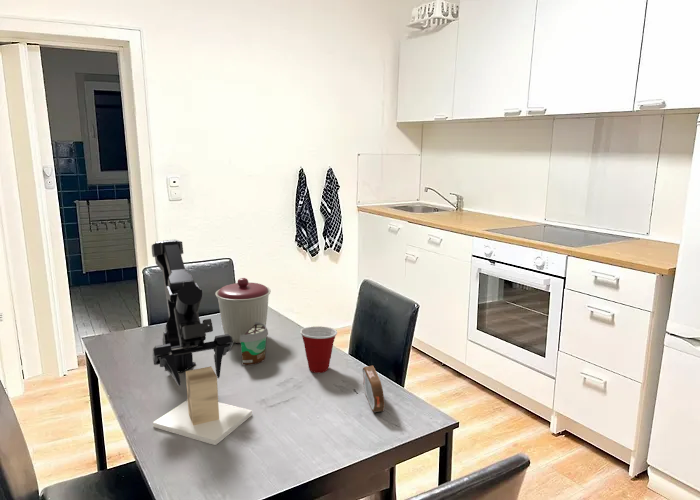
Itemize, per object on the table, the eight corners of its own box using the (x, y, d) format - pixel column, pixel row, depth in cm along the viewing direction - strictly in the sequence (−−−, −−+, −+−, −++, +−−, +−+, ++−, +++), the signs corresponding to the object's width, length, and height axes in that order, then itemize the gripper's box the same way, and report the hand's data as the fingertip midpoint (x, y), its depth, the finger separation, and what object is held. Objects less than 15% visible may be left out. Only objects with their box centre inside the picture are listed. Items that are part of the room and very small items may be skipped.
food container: (260, 369, 150) (259, 337, 148) (240, 367, 151) (239, 335, 149) (274, 352, 162) (273, 322, 160) (256, 350, 163) (255, 321, 161)
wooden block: (188, 413, 123) (185, 371, 121) (213, 407, 126) (211, 366, 123) (193, 425, 118) (190, 381, 115) (219, 419, 120) (216, 376, 118)
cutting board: (153, 426, 119) (152, 422, 119) (193, 399, 132) (193, 395, 132) (215, 445, 112) (215, 440, 112) (252, 414, 125) (251, 410, 124)
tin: (385, 418, 124) (385, 386, 122) (372, 419, 123) (373, 387, 121) (372, 388, 138) (372, 360, 136) (361, 389, 138) (361, 360, 136)
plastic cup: (343, 364, 153) (343, 327, 150) (326, 379, 143) (326, 339, 141) (311, 358, 157) (311, 321, 155) (293, 372, 148) (293, 333, 145)
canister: (229, 327, 184) (226, 270, 179) (278, 329, 181) (276, 272, 177) (209, 346, 166) (205, 284, 162) (262, 349, 164) (260, 286, 159)
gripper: (150, 314, 119) (159, 377, 112) (229, 303, 128) (243, 361, 120) (149, 334, 128) (157, 394, 121) (223, 323, 136) (235, 378, 129)
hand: (199, 381), depth 122 cm, fingers open, 9 cm apart
